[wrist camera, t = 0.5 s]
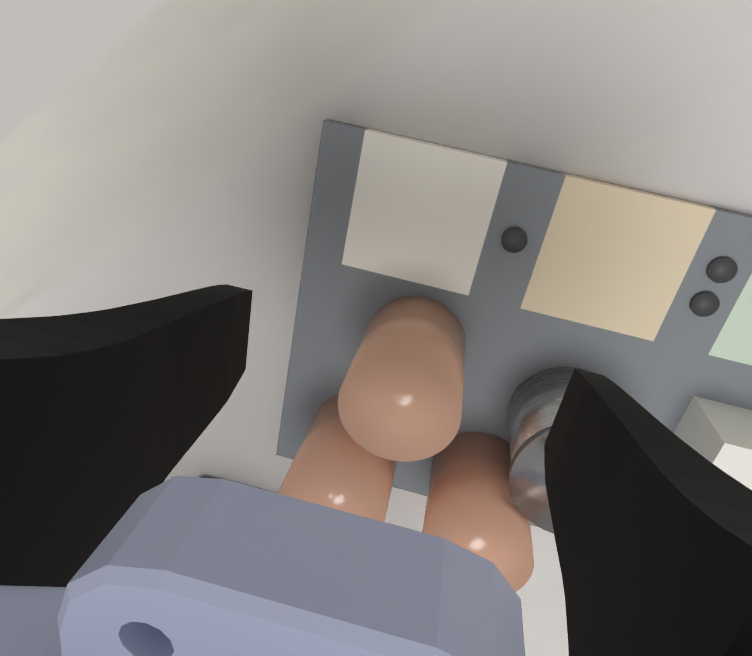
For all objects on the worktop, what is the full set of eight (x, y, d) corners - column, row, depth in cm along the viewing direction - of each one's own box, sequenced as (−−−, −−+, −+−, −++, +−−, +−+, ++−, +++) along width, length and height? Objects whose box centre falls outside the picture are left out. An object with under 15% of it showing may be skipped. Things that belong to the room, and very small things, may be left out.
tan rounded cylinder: (451, 396, 23) (444, 474, 18) (358, 372, 23) (329, 443, 19) (477, 310, 21) (476, 374, 17) (376, 285, 21) (348, 341, 17)
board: (747, 574, 25) (755, 590, 24) (280, 446, 26) (274, 457, 26) (971, 265, 18) (991, 273, 17) (327, 119, 20) (321, 121, 19)
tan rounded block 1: (391, 477, 25) (372, 565, 21) (308, 454, 25) (271, 535, 21) (411, 406, 23) (394, 485, 19) (320, 382, 24) (283, 454, 19)
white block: (755, 513, 23) (791, 572, 20) (645, 484, 23) (667, 538, 20) (814, 426, 21) (864, 479, 18) (693, 395, 21) (724, 443, 18)
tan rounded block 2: (508, 515, 25) (513, 611, 20) (422, 491, 25) (409, 581, 21) (536, 446, 23) (549, 535, 19) (443, 421, 23) (434, 503, 19)
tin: (598, 472, 23) (622, 552, 19) (491, 444, 23) (493, 516, 20) (643, 381, 21) (678, 450, 17) (524, 351, 21) (533, 412, 18)
